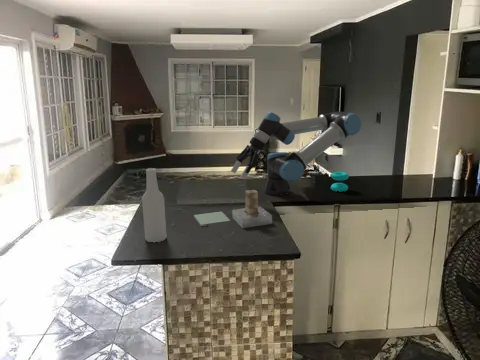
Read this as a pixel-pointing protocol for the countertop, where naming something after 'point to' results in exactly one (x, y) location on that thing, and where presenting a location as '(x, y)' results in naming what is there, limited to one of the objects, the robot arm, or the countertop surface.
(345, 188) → the donuts
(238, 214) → the hole block
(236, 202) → the countertop surface
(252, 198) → the square peg
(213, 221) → the pad
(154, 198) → the alcohol
